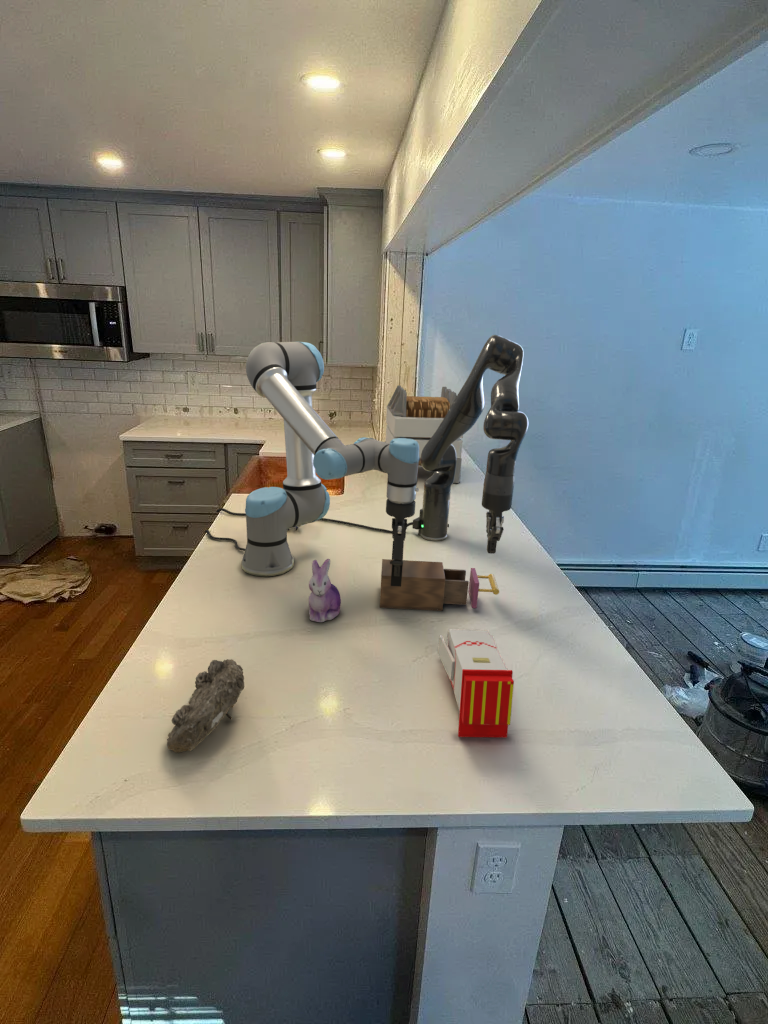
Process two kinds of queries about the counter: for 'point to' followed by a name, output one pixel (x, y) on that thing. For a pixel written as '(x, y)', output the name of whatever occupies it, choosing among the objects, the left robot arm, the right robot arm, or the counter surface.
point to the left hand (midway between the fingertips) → (396, 573)
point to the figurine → (323, 594)
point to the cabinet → (414, 586)
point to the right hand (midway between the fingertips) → (490, 552)
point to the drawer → (465, 587)
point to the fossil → (206, 705)
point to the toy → (478, 682)
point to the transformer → (420, 420)
